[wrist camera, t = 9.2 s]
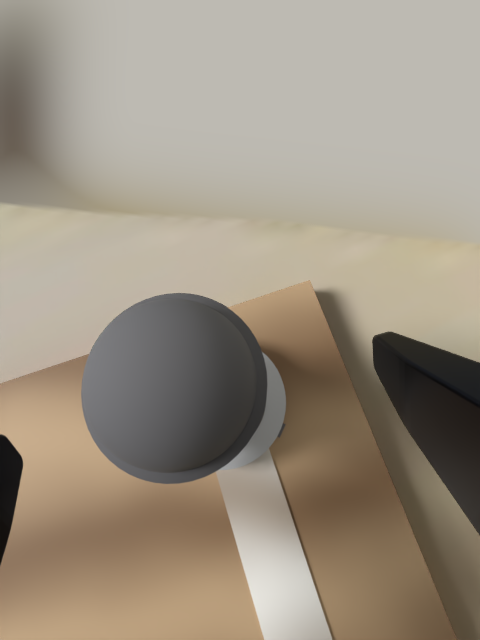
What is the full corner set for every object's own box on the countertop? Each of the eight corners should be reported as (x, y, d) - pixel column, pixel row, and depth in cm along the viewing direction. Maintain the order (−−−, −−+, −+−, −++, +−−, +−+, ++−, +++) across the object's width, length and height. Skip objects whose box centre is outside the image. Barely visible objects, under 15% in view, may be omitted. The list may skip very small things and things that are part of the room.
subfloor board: (458, 667, 14) (482, 699, 13) (-113, 874, 14) (-162, 934, 12) (306, 290, 19) (310, 278, 17) (-133, 437, 18) (-171, 439, 17)
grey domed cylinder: (276, 476, 15) (303, 609, 5) (153, 454, 16) (-73, 530, 5) (291, 351, 16) (339, 234, 6) (177, 335, 17) (35, 202, 6)
